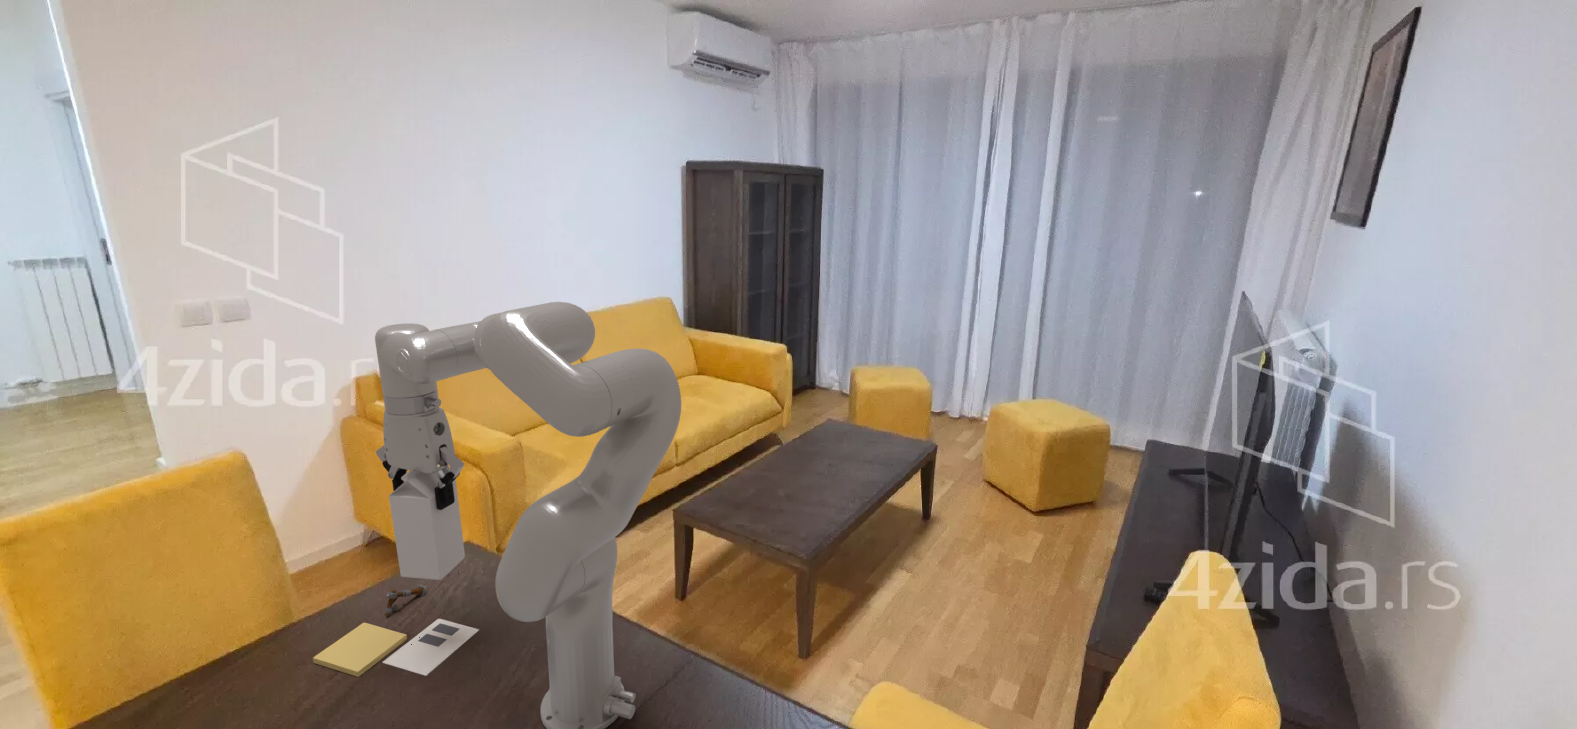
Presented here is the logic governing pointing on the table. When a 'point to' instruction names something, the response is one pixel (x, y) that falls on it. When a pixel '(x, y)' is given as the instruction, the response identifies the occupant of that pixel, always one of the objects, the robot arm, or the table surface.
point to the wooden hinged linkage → (393, 594)
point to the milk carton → (425, 528)
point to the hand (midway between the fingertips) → (425, 501)
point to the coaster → (360, 649)
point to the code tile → (431, 647)
